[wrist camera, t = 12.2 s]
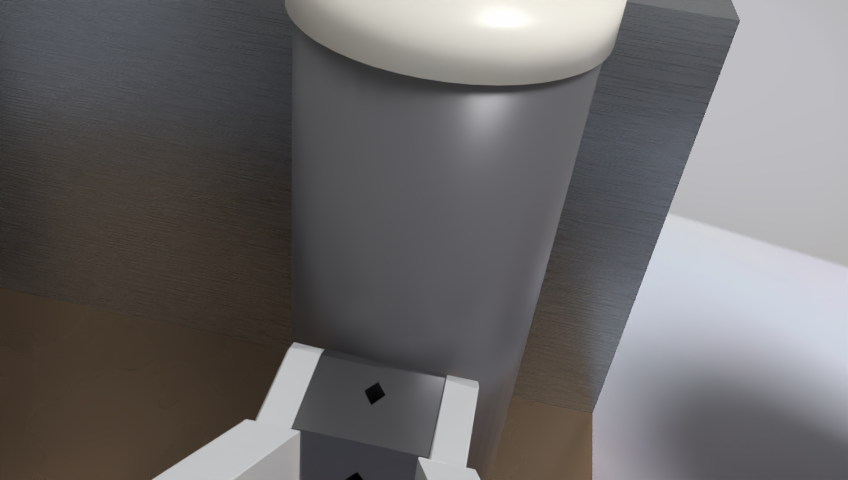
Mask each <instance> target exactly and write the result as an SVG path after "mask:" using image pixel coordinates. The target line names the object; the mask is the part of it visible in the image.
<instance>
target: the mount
mask: <svg viewBox="0 0 848 480" xmlns="http://www.w3.org/2000/svg"><path fill="white" fill-rule="evenodd" d="M739 21H740V20H739V17H738V15H737V13H736V10H735V8H734V6H733V3H732V1H731V0H627V2H626V6H625V9H624V13H623V17H622V20H621V24H620V27H619V31H618V35H617V38H616V42H615V45H614V48H613V50H612V52H611V54H610V55H609V56H608V57H607V58H606V59H605V60H604V61H603V62H602V65H601V68H600V72H599V76H598V79H597V83H596V87H595V91H594V94H593V98H592V102H591V105H590V109H589V113H588V116H587V120H586V124H585V128H584V131H583V135H582V139H581V142H580V146H579V150H578V153H577V157H576V161H575V164H574V168H573V172H572V176H571V179H570V183H569V187H568V190H567V194H566V198H565V201H564V205H563V209H562V213H561V216H560V220H559V224H558V227H557V231H556V235H555V238H554V242H553V246H552V250H551V253H550V257H549V261H548V264H547V268H546V272H545V275H544V279H543V283H542V287H541V290H540V294H539V298H538V301H537V305H536V309H535V312H534V316H533V320H532V324H531V327H530V331H529V335H528V338H527V342H526V346H525V349H524V353H523V357H522V361H521V364H520V368H519V372H518V375H517V379H516V383H515V386H514V390H513V394H512V397H511V401H510V405H509V409H508V412H507V416H506V420H505V423H504V427H503V431H502V434H501V438H500V442H499V446H498V449H497V453H496V457H495V460H494V464H493V468H492V471H491V475H490V479H489V480H592V413H593V410H594V408H595V405H596V402H597V400H598V397H599V394H600V392H601V389H602V386H603V384H604V381H605V378H606V376H607V373H608V370H609V368H610V365H611V362H612V360H613V357H614V354H615V352H616V349H617V346H618V344H619V341H620V338H621V336H622V333H623V330H624V328H625V325H626V322H627V320H628V317H629V314H630V312H631V309H632V306H633V304H634V301H635V298H636V296H637V293H638V290H639V288H640V285H641V282H642V280H643V277H644V275H645V272H646V269H647V267H648V264H649V261H650V259H651V256H652V253H653V251H654V248H655V245H656V243H657V240H658V237H659V235H660V232H661V229H662V227H663V224H664V221H665V219H666V216H667V213H668V211H669V208H670V205H671V202H672V200H673V197H674V195H675V192H676V189H677V187H678V184H679V181H680V179H681V176H682V173H683V170H684V168H685V165H686V163H687V160H688V157H689V154H690V152H691V149H692V147H693V144H694V141H695V138H696V136H697V133H698V131H699V128H700V125H701V123H702V120H703V117H704V115H705V112H706V109H707V107H708V104H709V101H710V99H711V96H712V93H713V91H714V88H715V85H716V82H717V80H718V77H719V75H720V72H721V69H722V66H723V64H724V61H725V59H726V56H727V53H728V51H729V48H730V45H731V43H732V40H733V37H734V35H735V32H736V30H737V27H738V24H739ZM291 225H292V19H291V18H290V17H289V15H288V13H287V10H286V7H285V0H0V480H152V479H153V478H155V477H157V476H158V475H160V474H161V473H163V472H164V471H166V470H167V469H169V468H171V467H172V466H174V465H175V464H177V463H178V462H180V461H181V460H183V459H185V458H186V457H188V456H189V455H191V454H192V453H194V452H195V451H197V450H199V449H200V448H202V447H203V446H205V445H206V444H208V443H209V442H211V441H213V440H214V439H216V438H217V437H219V436H220V435H222V434H223V433H225V432H226V431H228V430H230V429H231V428H233V427H234V426H236V425H237V424H239V423H240V422H242V421H244V420H245V419H248V420H254V421H255V420H256V417H257V415H258V413H259V411H260V409H261V407H262V404H263V402H264V400H265V398H266V396H267V394H268V391H269V389H270V387H271V385H272V383H273V381H274V378H275V376H276V374H277V372H278V370H279V367H280V365H281V363H282V361H283V359H284V357H285V354H286V352H287V350H288V349H289V347H290V346H291Z"/></svg>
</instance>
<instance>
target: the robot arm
mask: <svg viewBox="0 0 848 480" xmlns="http://www.w3.org/2000/svg"><path fill="white" fill-rule="evenodd" d="M445 380H446V382H445ZM444 386H445V387H444ZM478 390H479V383H478V381H474V380H469V379H464V378H459V377H455V376H450V375H447V378H446V374H441V373H436V372H431V371H426V370H421V369H416V368H411V367H406V366H401V365H396V364H391V363H382V362H378V361H374V360H370V359H365V358H361V357H357V356H353V355H349V354H344V353H340V352H336V351H332V350H328V349H321V348H317V347H313V346H308V345H304V344H300V343H296V342H294V343H293V344H292V345H291V346H290V347H289V349H288V350H287V352H286V354H285V357H284V359H283V361H282V363H281V365H280V367H279V370H278V372H277V374H276V376H275V378H274V381H273V383H272V385H271V387H270V389H269V391H268V394H267V396H266V398H265V400H264V402H263V404H262V407H261V409H260V411H259V413H258V415H257V417H256V420H255V421H254V420H248V419H245V420H244V421H242V422H240V423H239V424H237V425H236V426H234V427H233V428H231V429H230V430H228V431H226V432H225V433H223V434H222V435H220V436H219V437H217V438H216V439H214V440H213V441H211V442H209V443H208V444H206V445H205V446H203V447H202V448H200V449H199V450H197V451H195V452H194V453H192V454H191V455H189V456H188V457H186V458H185V459H183V460H181V461H180V462H178V463H177V464H175V465H174V466H172V467H171V468H169V469H167V470H166V471H164V472H163V473H161V474H160V475H158V476H157V477H155V478H153V479H152V480H480V478H479V476H478V474H477V472H476V470H475V469H471V468H467V467H466V465H467V458H468V452H469V446H470V440H471V434H472V427H473V421H474V415H475V409H476V402H477V396H478ZM443 391H444V392H443ZM442 396H443V397H442Z"/></svg>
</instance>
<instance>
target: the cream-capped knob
mask: <svg viewBox="0 0 848 480" xmlns="http://www.w3.org/2000/svg"><path fill="white" fill-rule="evenodd" d="M626 2H627V0H285V7H286V10H287V13H288V15H289V17H290V18H291V19H292V225H291V345H292V344H293V343H294V342H296V343H300V344H304V345H308V346H313V347H317V348H321V349H328V350H332V351H336V352H340V353H344V354H349V355H353V356H357V357H361V358H365V359H370V360H374V361H378V362H382V363H391V364H396V365H401V366H406V367H411V368H416V369H421V370H426V371H431V372H436V373H441V374H446V378H447V375H450V376H455V377H459V378H464V379H469V380H474V381H478V383H479V390H478V396H477V402H476V409H475V415H474V421H473V427H472V434H471V440H470V446H469V452H468V458H467V465H466V467H467V468H471V469H475V470H476V472H477V474H478V476H479V478H480V480H489V479H490V475H491V471H492V468H493V464H494V460H495V457H496V453H497V449H498V446H499V442H500V438H501V434H502V431H503V427H504V423H505V420H506V416H507V412H508V409H509V405H510V401H511V397H512V394H513V390H514V386H515V383H516V379H517V375H518V372H519V368H520V364H521V361H522V357H523V353H524V349H525V346H526V342H527V338H528V335H529V331H530V327H531V324H532V320H533V316H534V312H535V309H536V305H537V301H538V298H539V294H540V290H541V287H542V283H543V279H544V275H545V272H546V268H547V264H548V261H549V257H550V253H551V250H552V246H553V242H554V238H555V235H556V231H557V227H558V224H559V220H560V216H561V213H562V209H563V205H564V201H565V198H566V194H567V190H568V187H569V183H570V179H571V176H572V172H573V168H574V164H575V161H576V157H577V153H578V150H579V146H580V142H581V139H582V135H583V131H584V128H585V124H586V120H587V116H588V113H589V109H590V105H591V102H592V98H593V94H594V91H595V87H596V83H597V79H598V76H599V72H600V68H601V65H602V62H603V61H604V60H605V59H606V58H607V57H608V56H609V55H610V54H611V52H612V50H613V48H614V45H615V42H616V38H617V35H618V31H619V27H620V24H621V20H622V17H623V13H624V9H625V6H626ZM445 382H446V380H445ZM444 387H445V386H444ZM443 392H444V391H443ZM442 397H443V396H442Z"/></svg>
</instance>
